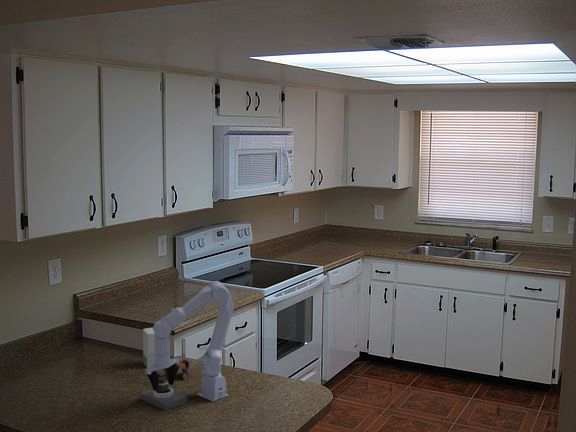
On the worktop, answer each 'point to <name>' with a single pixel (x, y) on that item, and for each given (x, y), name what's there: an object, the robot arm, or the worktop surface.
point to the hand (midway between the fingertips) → (163, 387)
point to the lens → (163, 385)
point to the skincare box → (148, 347)
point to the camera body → (164, 398)
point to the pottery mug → (183, 367)
